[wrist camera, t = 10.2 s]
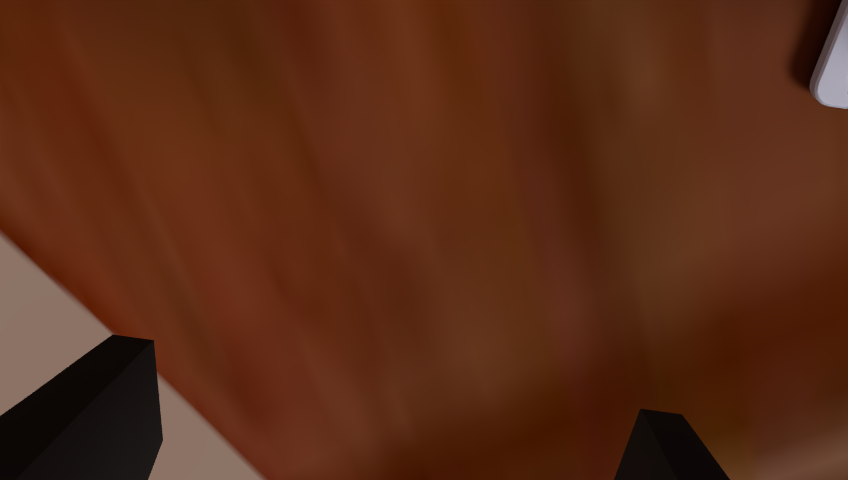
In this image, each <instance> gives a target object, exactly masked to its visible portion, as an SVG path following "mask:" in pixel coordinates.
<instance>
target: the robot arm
mask: <svg viewBox="0 0 848 480" xmlns="http://www.w3.org/2000/svg"><path fill="white" fill-rule="evenodd" d="M809 88H810V91H811V94H812V95H813V96H814V97H815V99H816V100H818V101H819V102H820V103H821V104H823V105H826V106H830V107H837V108H845V109H848V0H842V2H841V4H840V7H839V9H838V12H837V14H836V17H835V19H834V22H833V24H832V27H831V29H830V32H829V34H828V37H827V39H826V42H825V44H824V47H823V49H822V52H821V55H820V57H819V60H818V62H817V65H816V67H815V70H814V72H813V75H812V77H811V80H810V86H809ZM162 441H163V437H162V425H161V414H160V403H159V393H158V381H157V370H156V359H155V348H154V340H148V339H141V338H133V337H126V336H119V335H112V336H110V337H109V338H107V339H106V340H105V341H103V342H102V343H100V344H99V345H98V346H96V347H95V348H93V349H92V350H91V351H89V352H88V353H86V354H85V355H84V356H82V357H81V358H80V359H78V360H77V361H75V362H74V363H73V364H71V365H70V366H69V367H67V368H66V369H65V370H63V371H62V372H61V373H59V374H58V375H56V376H55V377H54V378H53V379H51V380H50V381H48V382H47V383H46V384H44V385H43V386H41V387H40V388H39V389H38V390H36V391H35V392H33V393H32V394H31V395H29V396H28V397H27V398H25V399H24V400H22V401H21V402H19V403H18V404H16V405H15V406H14V407H12V408H11V409H9V410H8V411H7V412H5V413H4V414H2V415H1V416H0V480H148V478H149V475H150V473H151V470H152V468H153V465H154V462H155V460H156V457H157V454H158V452H159V449H160V446H161V444H162ZM614 480H730V479H729V478H728V476H727V475H726V474H725V472H724V471H723V470H722V468H721V467H720V466H719V464H718V463H717V461H716V460H715V459H714V457H713V456H712V455H711V453H710V452H709V451H708V449H707V448H706V446H705V445H704V444H703V442H702V441H701V440H700V438H699V437H698V436H697V434H696V433H695V431H694V430H693V429H692V427H691V426H690V425H689V423H688V422H687V421H686V419H685V418H684V417H683V415H681V414H674V413H667V412H660V411H653V410H646V409H640V411H639V414H638V417H637V419H636V422H635V425H634V428H633V430H632V433H631V436H630V438H629V441H628V444H627V446H626V449H625V452H624V454H623V457H622V460H621V463H620V465H619V468H618V471H617V473H616V476H615V479H614Z"/></svg>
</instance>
